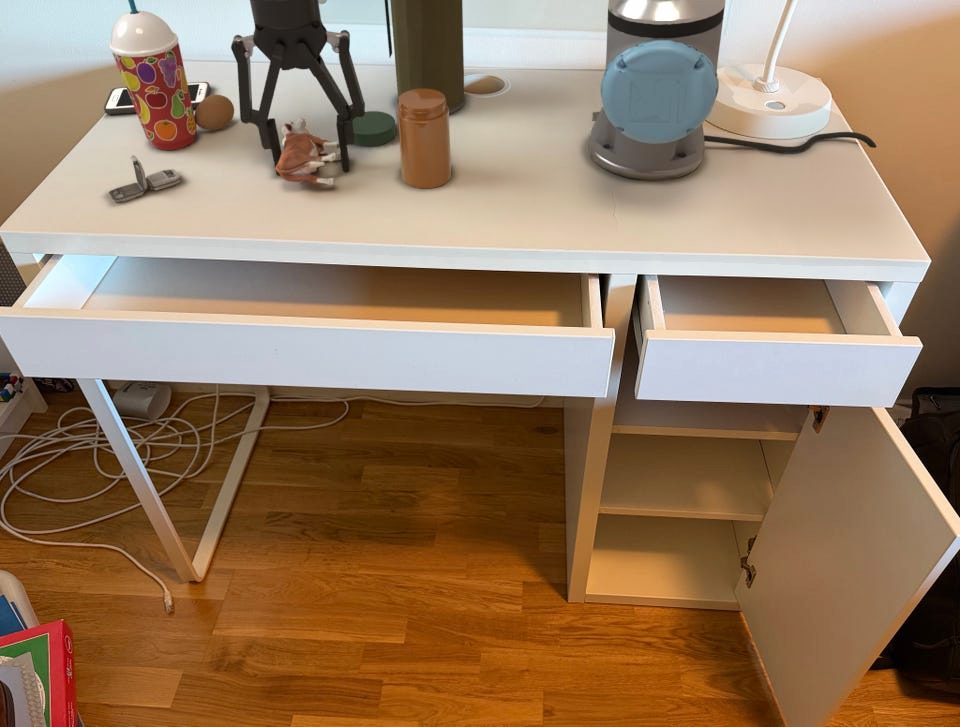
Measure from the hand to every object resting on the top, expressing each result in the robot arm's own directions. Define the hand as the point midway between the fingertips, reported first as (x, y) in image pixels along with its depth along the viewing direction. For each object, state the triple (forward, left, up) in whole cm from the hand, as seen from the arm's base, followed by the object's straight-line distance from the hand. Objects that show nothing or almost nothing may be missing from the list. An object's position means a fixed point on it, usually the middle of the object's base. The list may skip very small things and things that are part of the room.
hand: (313, 167), depth 99 cm
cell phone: (+31, -13, 0) cm, 34 cm away
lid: (-4, -11, +1) cm, 12 cm away
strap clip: (+19, +10, 0) cm, 21 cm away
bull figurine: (-4, -1, +2) cm, 4 cm away
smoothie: (+22, -3, 0) cm, 22 cm away
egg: (+17, -10, +3) cm, 20 cm away
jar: (-15, -2, 0) cm, 15 cm away
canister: (-9, -23, 0) cm, 25 cm away
